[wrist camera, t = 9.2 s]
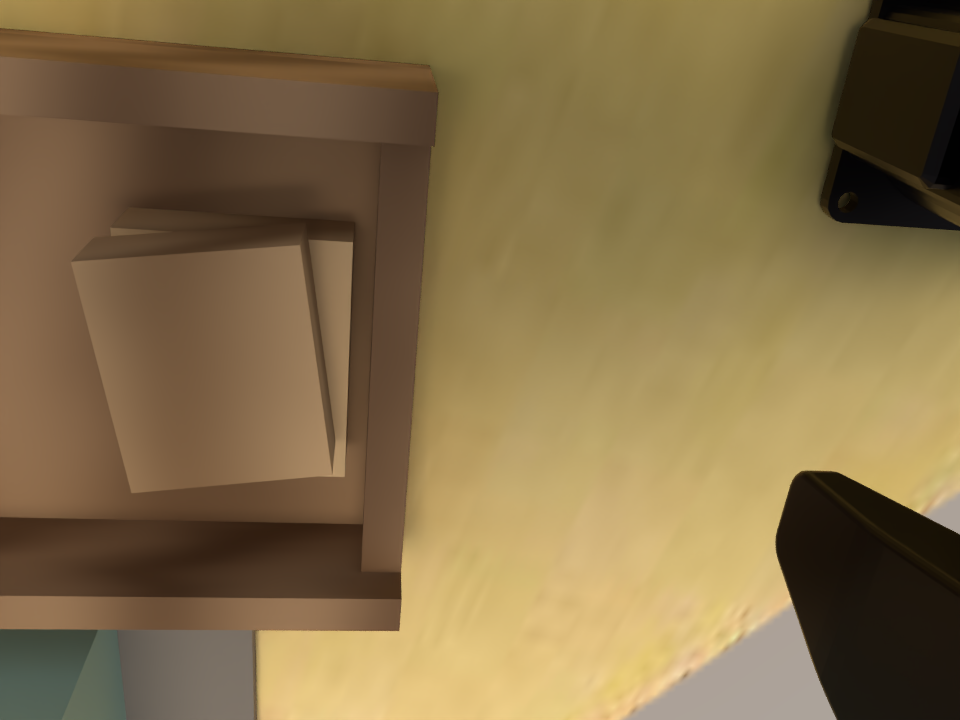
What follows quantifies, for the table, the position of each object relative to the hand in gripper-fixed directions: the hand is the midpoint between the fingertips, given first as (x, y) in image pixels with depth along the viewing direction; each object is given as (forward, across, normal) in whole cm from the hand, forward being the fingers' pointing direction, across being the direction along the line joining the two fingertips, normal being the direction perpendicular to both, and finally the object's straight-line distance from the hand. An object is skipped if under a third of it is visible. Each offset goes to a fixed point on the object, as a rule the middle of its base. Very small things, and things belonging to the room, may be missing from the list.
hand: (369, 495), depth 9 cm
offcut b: (+11, +3, +4) cm, 12 cm away
